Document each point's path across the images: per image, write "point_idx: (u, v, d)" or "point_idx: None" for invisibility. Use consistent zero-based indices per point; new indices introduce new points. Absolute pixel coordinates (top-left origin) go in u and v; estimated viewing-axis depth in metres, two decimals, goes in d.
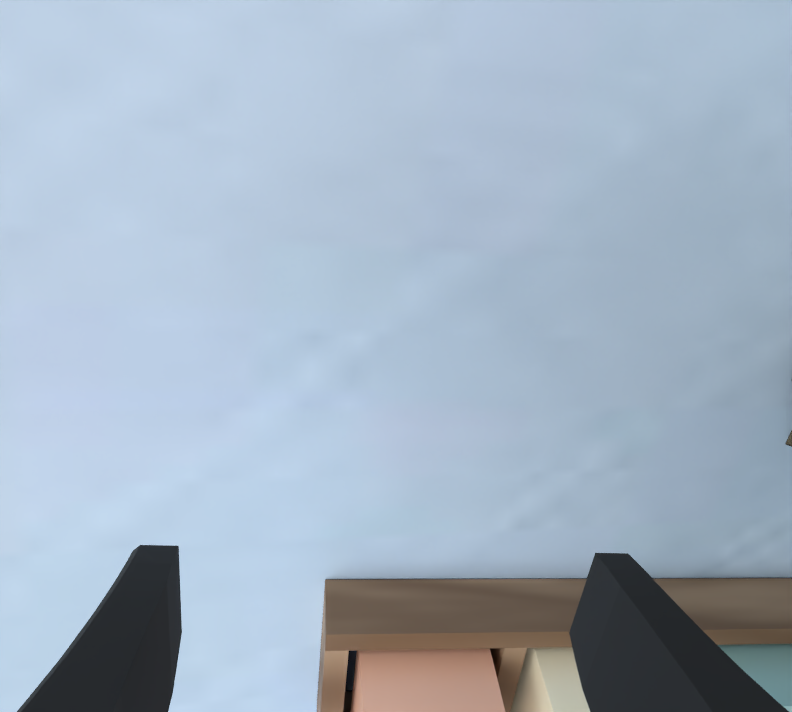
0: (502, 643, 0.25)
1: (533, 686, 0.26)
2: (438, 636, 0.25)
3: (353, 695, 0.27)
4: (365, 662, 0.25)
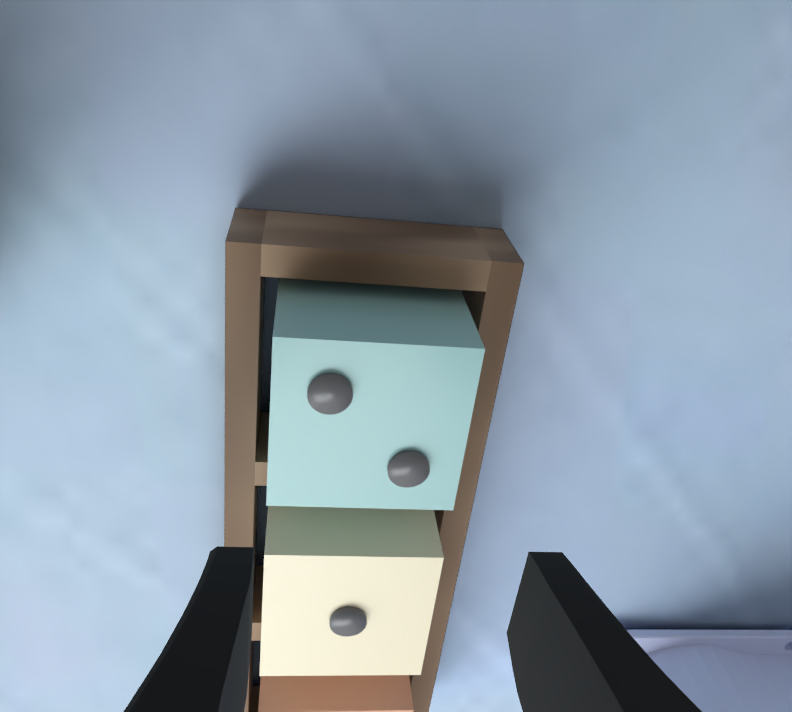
0: None
1: None
2: None
3: None
4: None
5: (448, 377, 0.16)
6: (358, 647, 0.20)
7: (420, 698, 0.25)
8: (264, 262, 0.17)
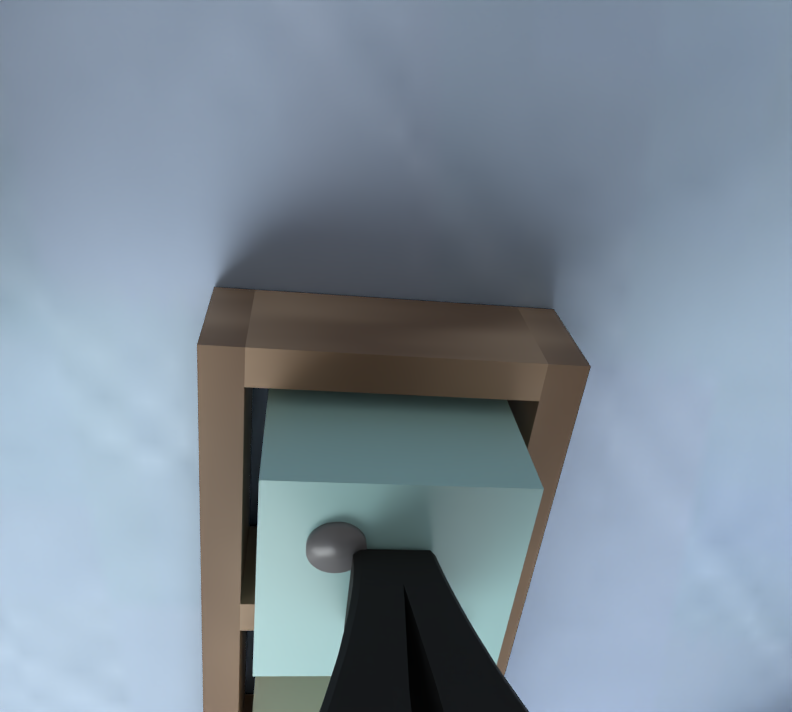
0: None
1: None
2: None
3: None
4: None
5: (495, 524, 0.12)
6: None
7: None
8: (249, 370, 0.13)
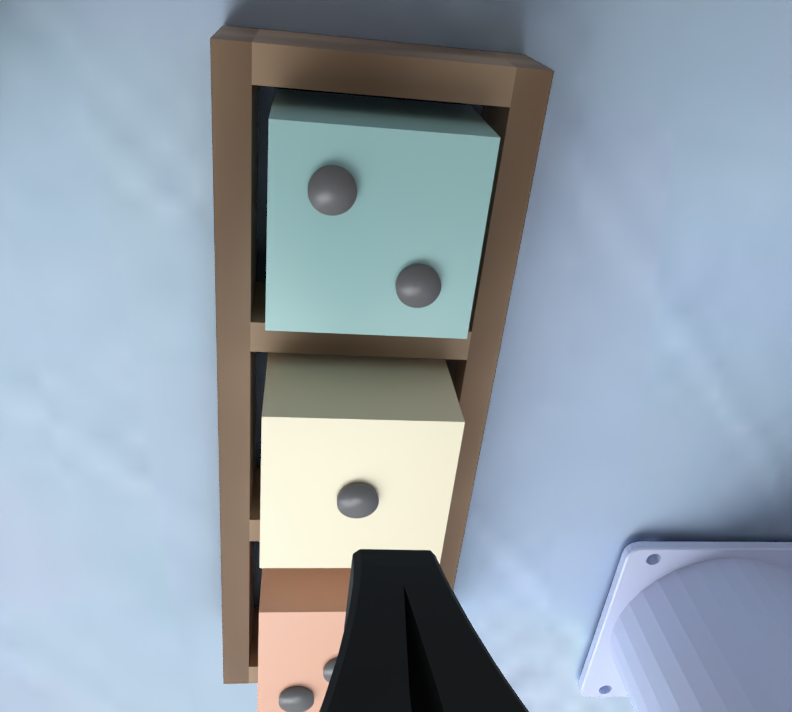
0: (241, 545, 0.21)
1: None
2: (227, 601, 0.22)
3: None
4: None
5: (461, 173, 0.15)
6: (369, 534, 0.18)
7: None
8: (255, 66, 0.15)
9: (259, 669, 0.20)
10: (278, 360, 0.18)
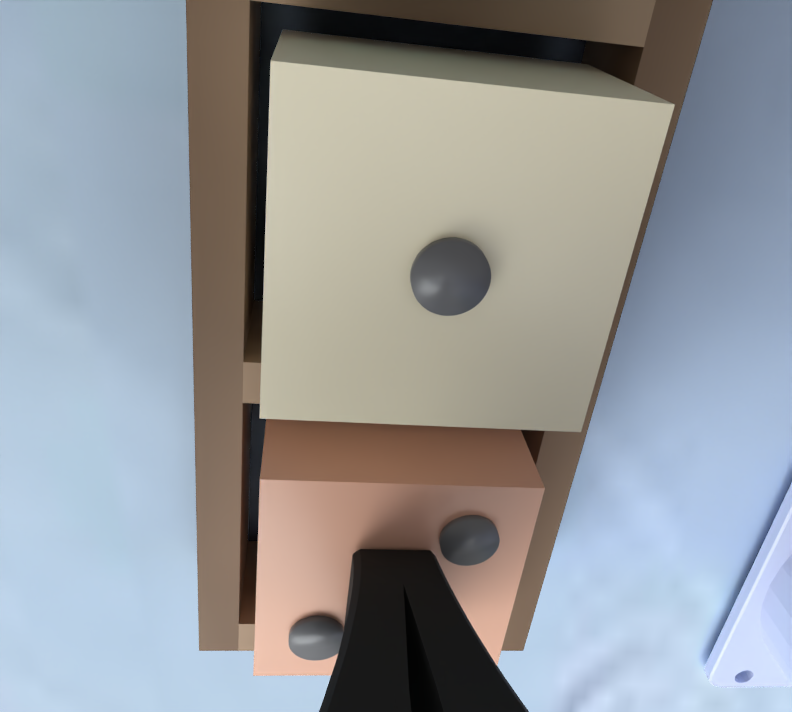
0: (229, 409, 0.12)
1: None
2: (206, 511, 0.14)
3: None
4: None
5: None
6: (464, 355, 0.10)
7: (537, 539, 0.15)
8: None
9: (258, 584, 0.12)
10: (301, 36, 0.10)
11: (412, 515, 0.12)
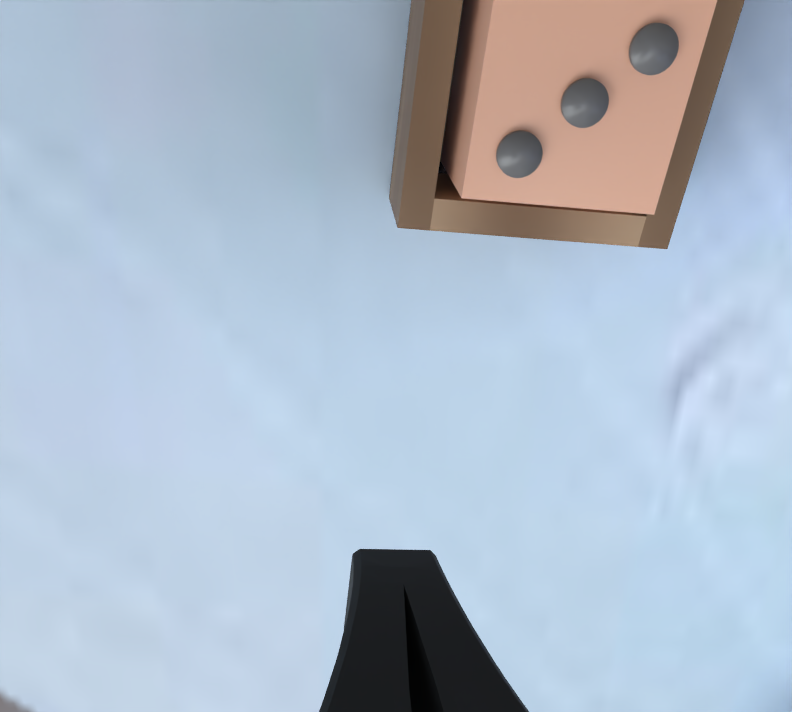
0: None
1: None
2: (425, 63, 0.16)
3: None
4: (448, 166, 0.18)
5: None
6: None
7: (692, 116, 0.17)
8: None
9: (480, 89, 0.15)
10: None
11: (611, 20, 0.15)
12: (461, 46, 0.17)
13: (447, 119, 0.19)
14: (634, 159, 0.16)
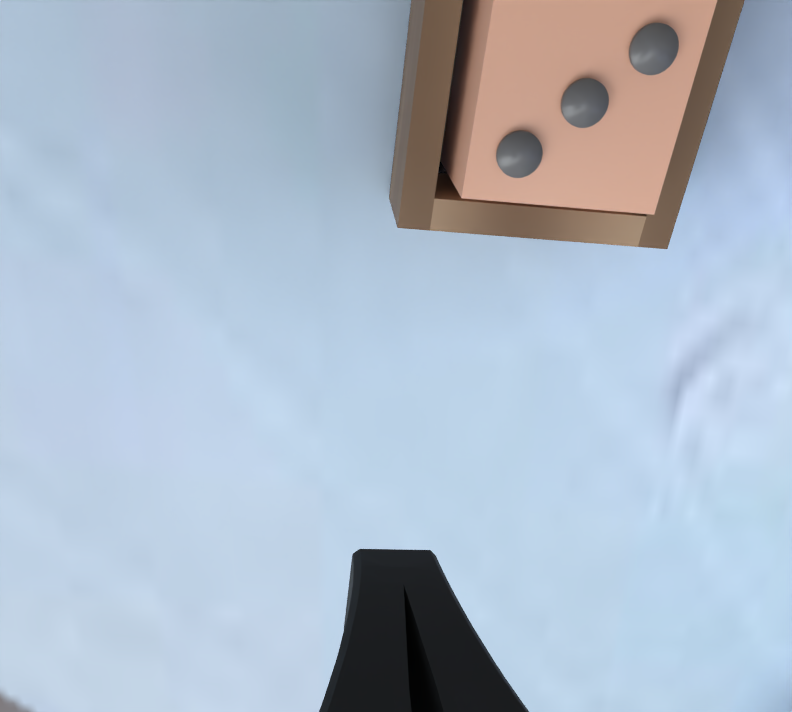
0: None
1: None
2: (425, 63, 0.16)
3: None
4: (448, 166, 0.18)
5: None
6: None
7: (692, 116, 0.17)
8: None
9: (480, 89, 0.15)
10: None
11: (611, 20, 0.15)
12: (461, 46, 0.17)
13: (447, 119, 0.19)
14: (634, 159, 0.16)
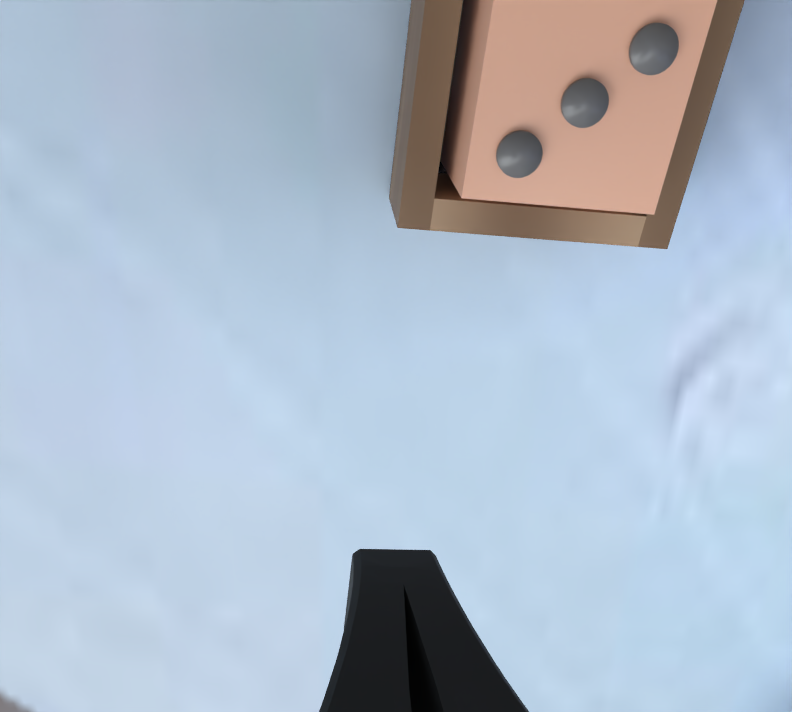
0: None
1: None
2: (425, 63, 0.16)
3: None
4: (448, 166, 0.18)
5: None
6: None
7: (692, 116, 0.17)
8: None
9: (480, 89, 0.15)
10: None
11: (611, 20, 0.15)
12: (461, 46, 0.17)
13: (447, 119, 0.19)
14: (634, 159, 0.16)
